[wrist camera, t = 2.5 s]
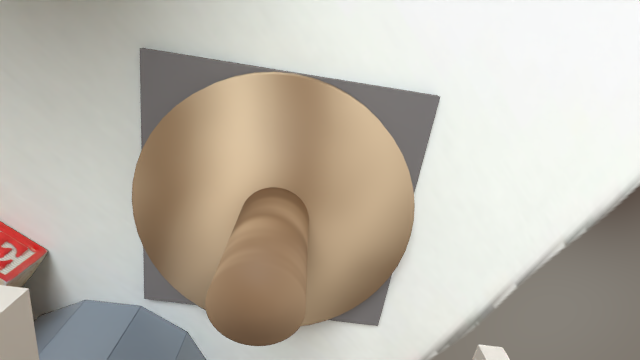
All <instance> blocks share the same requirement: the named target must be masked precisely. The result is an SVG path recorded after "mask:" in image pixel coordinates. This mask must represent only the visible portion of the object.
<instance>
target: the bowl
mask: <svg viewBox="0 0 640 360" xmlns="http://www.w3.org/2000/svg"><path fill="white" fill-rule="evenodd" d="M34 327H35V334H36V341H37V348H38V354H39V360H206V359H205V358H204V356H203V355H202V353H201V352H200V350H199V349H198V347H197V346H196V344H195V343H194V341H193V340H192V338H191V337H190V335H189V334H188V332H186V331H184V330H183V329H181V328H179V327H177V326H176V325H174V324H172V323H170V322H168V321H167V320H165V319H163V318H161V317H159V316H158V315H156V314H154V313H152V312H150V311H149V310H147V309H145V308H143V307H142V306H135V305H126V304H117V303H108V302H100V301H91V300H84V301H81V302H78V303H75V304H72V305H70V306H67V307H64V308H61V309H58V310H55V311H52V312H50V313H47V314H44V315H41V316H39V317H38V318H37V320H36V321H35V322H34Z"/></svg>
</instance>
